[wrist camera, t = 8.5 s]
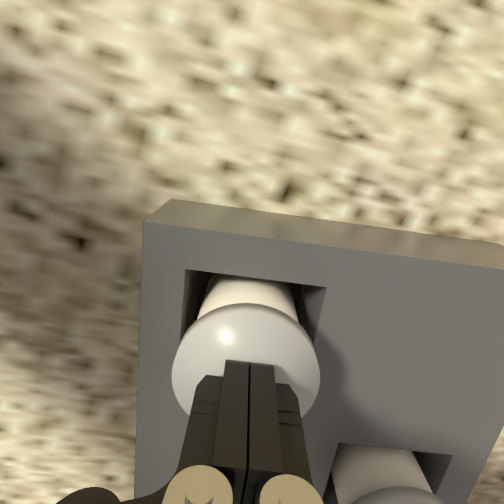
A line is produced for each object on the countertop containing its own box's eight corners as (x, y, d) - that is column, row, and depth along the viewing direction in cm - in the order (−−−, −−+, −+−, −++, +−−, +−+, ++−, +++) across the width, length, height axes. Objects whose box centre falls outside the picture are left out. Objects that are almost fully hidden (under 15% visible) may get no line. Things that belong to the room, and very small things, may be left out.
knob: (204, 243, 15) (176, 306, 10) (305, 257, 15) (334, 326, 10) (195, 332, 17) (167, 429, 11) (288, 343, 17) (304, 444, 11)
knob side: (326, 388, 18) (358, 502, 12) (411, 398, 18) (480, 515, 12) (309, 453, 19) (330, 580, 14) (388, 462, 19) (440, 591, 14)
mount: (171, 198, 15) (142, 221, 11) (498, 243, 16) (575, 279, 12) (151, 530, 22) (130, 612, 18) (375, 552, 23) (399, 636, 19)
